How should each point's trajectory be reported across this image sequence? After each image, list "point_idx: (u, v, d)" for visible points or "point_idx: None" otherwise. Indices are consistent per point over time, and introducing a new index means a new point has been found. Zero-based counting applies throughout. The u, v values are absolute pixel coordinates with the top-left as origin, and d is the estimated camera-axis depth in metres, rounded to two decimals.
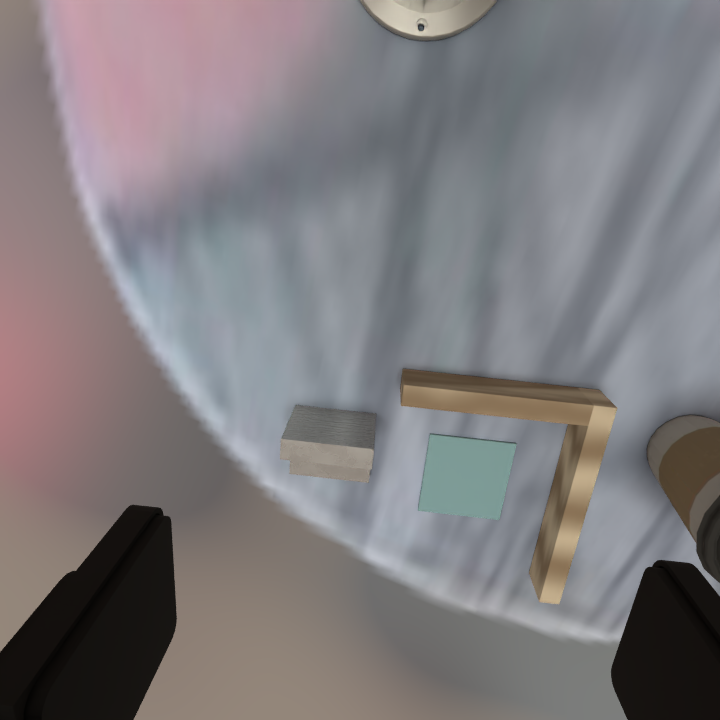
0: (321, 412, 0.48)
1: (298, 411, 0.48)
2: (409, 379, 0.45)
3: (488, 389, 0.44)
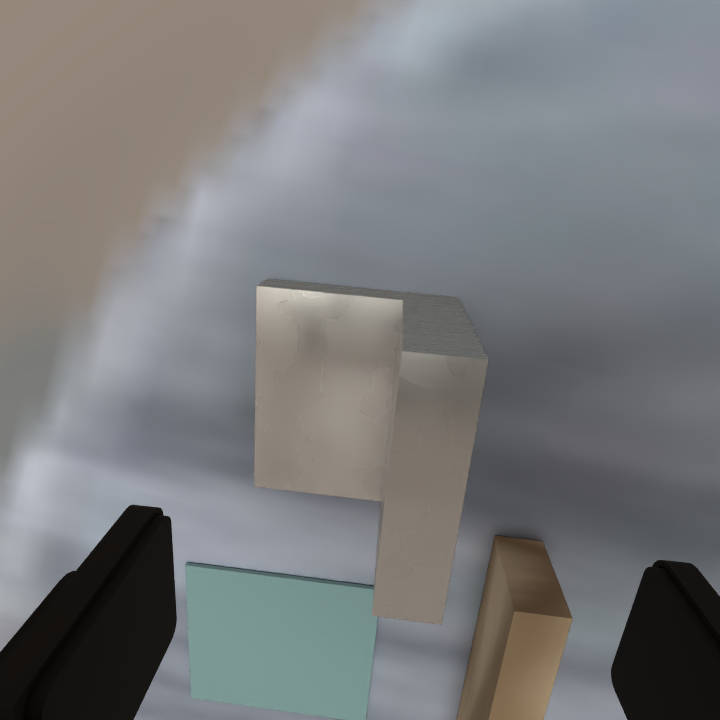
0: None
1: None
2: None
3: None
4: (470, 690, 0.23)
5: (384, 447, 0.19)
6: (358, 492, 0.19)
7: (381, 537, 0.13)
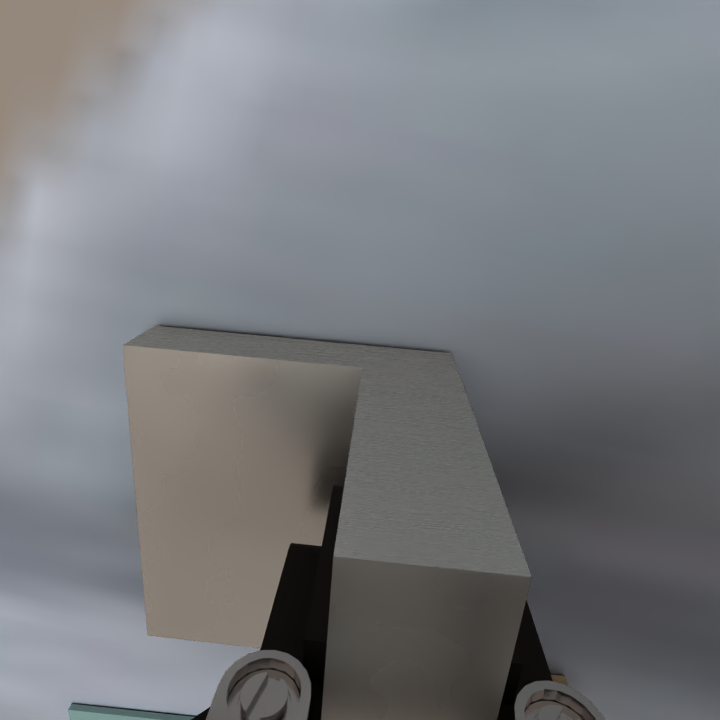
0: None
1: None
2: None
3: None
4: None
5: None
6: None
7: None
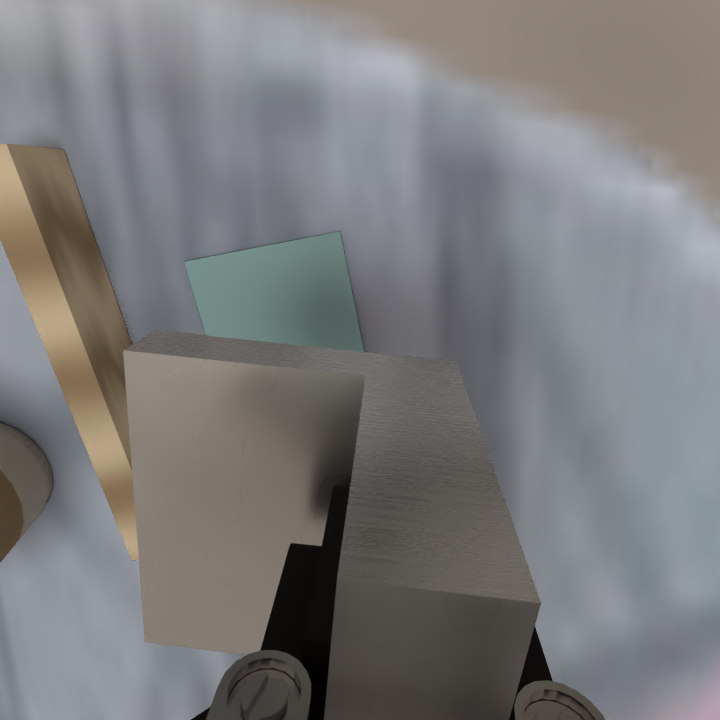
0: None
1: None
2: None
3: None
4: None
5: None
6: None
7: None
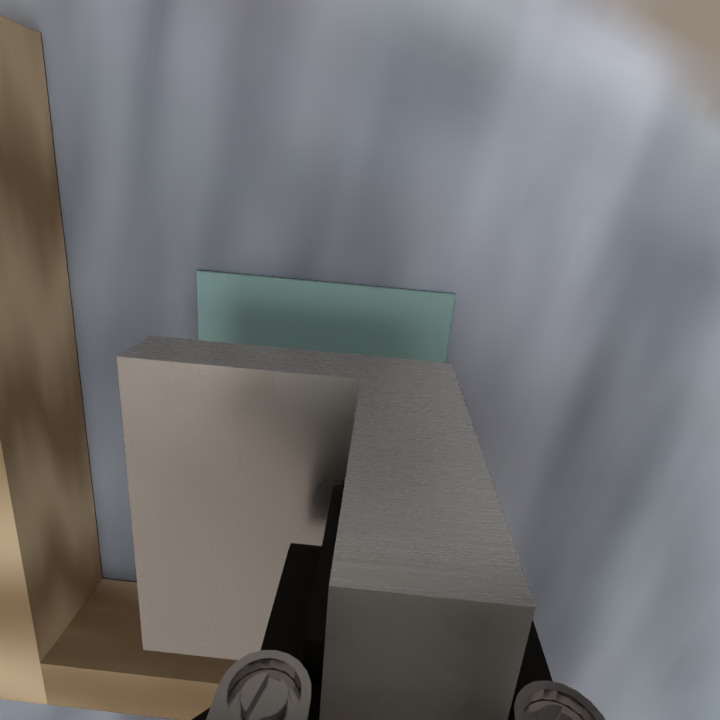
0: None
1: None
2: None
3: None
4: None
5: None
6: None
7: None
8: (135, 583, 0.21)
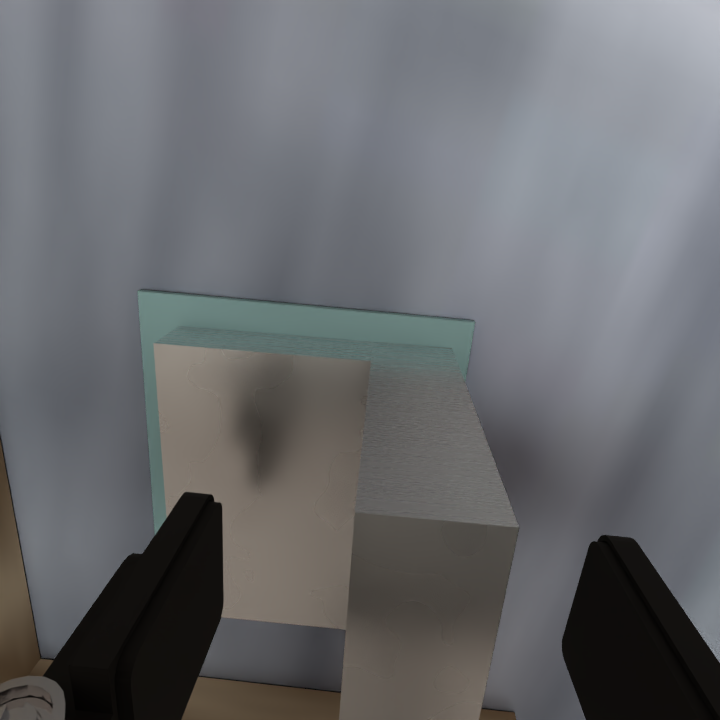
0: None
1: None
2: None
3: None
4: None
5: None
6: (318, 618, 0.14)
7: None
8: None
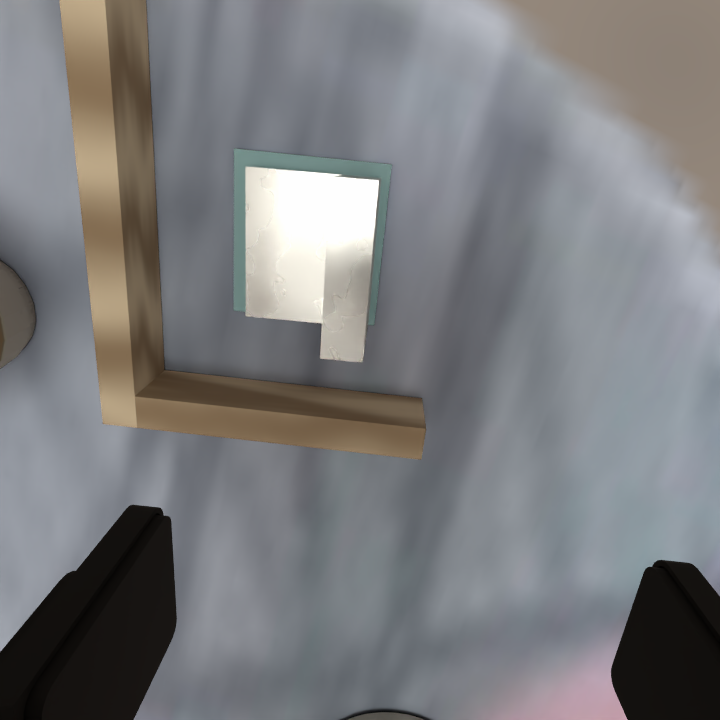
0: (376, 231, 0.27)
1: None
2: None
3: None
4: (299, 392, 0.31)
5: None
6: (317, 318, 0.28)
7: (323, 302, 0.22)
8: (186, 372, 0.32)
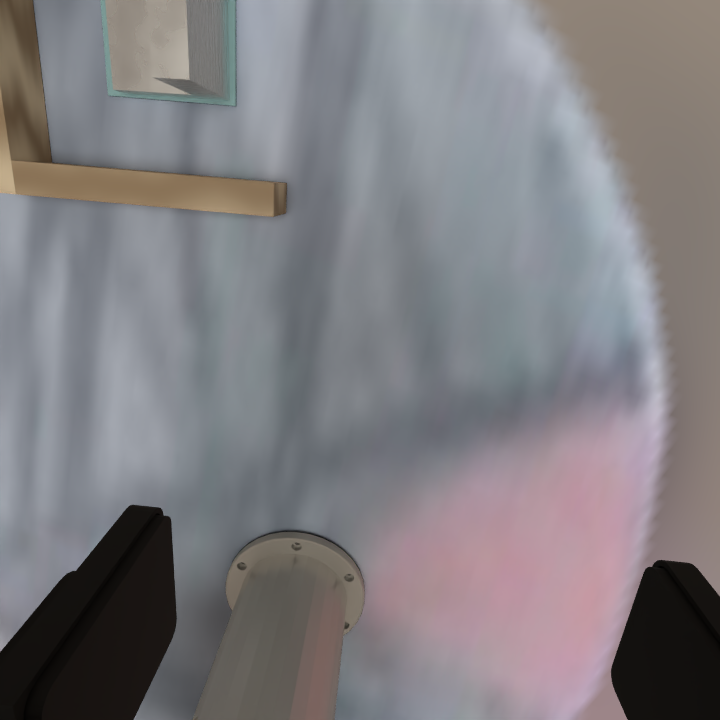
0: None
1: None
2: None
3: None
4: None
5: None
6: (177, 88, 0.31)
7: (148, 16, 0.25)
8: (71, 164, 0.35)
